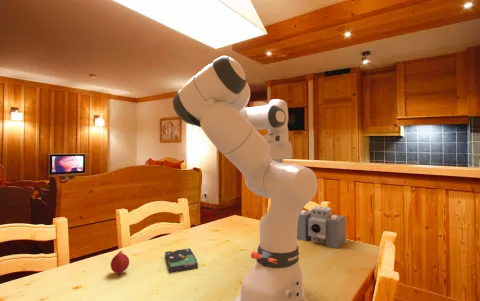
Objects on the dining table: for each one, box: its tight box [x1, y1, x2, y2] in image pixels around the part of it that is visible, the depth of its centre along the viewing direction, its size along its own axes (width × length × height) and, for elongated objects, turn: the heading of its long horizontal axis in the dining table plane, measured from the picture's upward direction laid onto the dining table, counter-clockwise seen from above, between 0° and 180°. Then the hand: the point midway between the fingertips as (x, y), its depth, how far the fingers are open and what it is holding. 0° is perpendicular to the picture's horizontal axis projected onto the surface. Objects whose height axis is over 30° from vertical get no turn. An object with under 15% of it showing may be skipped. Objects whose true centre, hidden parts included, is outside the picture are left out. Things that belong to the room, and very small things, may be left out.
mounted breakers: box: [297, 209, 346, 250], centre depth 122 cm, size 10×20×13 cm, turn 51°
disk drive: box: [164, 248, 199, 274], centre depth 99 cm, size 10×3×15 cm
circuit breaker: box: [308, 205, 333, 245], centre depth 120 cm, size 8×14×15 cm, turn 148°
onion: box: [110, 250, 130, 275], centre depth 90 cm, size 6×6×8 cm
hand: (278, 170), depth 112 cm, fingers closed
